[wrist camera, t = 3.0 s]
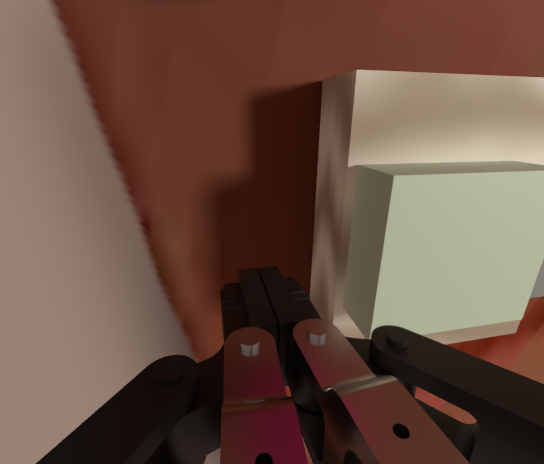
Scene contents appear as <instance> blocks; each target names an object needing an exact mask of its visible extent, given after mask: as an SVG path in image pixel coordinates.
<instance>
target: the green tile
mask: <svg viewBox="0 0 544 464" xmlns="http://www.w3.org/2000/svg"><path fill="white" fill-rule="evenodd" d="M543 259H544V165H540V164H533V163H525V162H518V161H480V162H440V163H401V164H361V165H357V175H356V184H355V194H354V203H353V213H352V222H351V232H350V241H349V251H348V260H347V270H346V279H345V289H344V298H343V308H344V310H345V311H346V312H347V314H348V315H349V316H350V318H351V319H352V320H353V322H354V323H355V325H356V326H357V327H358V329H359V330H360V331H361V333H362V334H363V335H364V337H365V338H366V339H371V334H372V332H373V330H374V329H375V328H377V327H380V326H384V325H393V326H398V327H402V328H405V329H407V330H410V331H412V332H415V333H417V334H420V335H424V334H430V333H437V332H443V331H450V330H456V329H463V328H469V327H476V326H482V325H489V324H495V323H502V322H508V321H515V320H521V319H522V318H523V315H524V312H525V309H526V307H527V304H528V301H529V298H530V295H531V293H532V290H533V287H534V284H535V281H536V279H537V276H538V273H539V270H540V267H541V265H542V262H543Z"/></svg>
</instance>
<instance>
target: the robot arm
mask: <svg viewBox="0 0 544 464" xmlns="http://www.w3.org/2000/svg"><path fill="white" fill-rule="evenodd" d="M237 276H238V283H230V284H225V285H224V287H223V288H222V290H221V291H220V296H221V312H222V328H223V338H224V344H223V346H222V348H221V349H220V350H219V351H218V353H216V354H215V355H214V356H212V357H210V358H209V359H206V360H204V361H202V362H199V363H196V362H195V361H194V360H193V359H192V358H190V357H187V356H183V355H171V356H166V357H163V358H160V359H158V360H156V361H154V362H153V363H151V364H150V365H149V366H147V367H146V368H145V369H144V370H143V371H142V372H141V373H139V374H138V375H137V376H136V377H135V378H134V379H132V380H131V381H130V382H129V383H128V384H127V385H126V386H124V387H123V388H122V389H121V390H120V391H119V392H118V393H116V394H115V395H114V396H113V397H112V398H111V399H109V401H107V402H106V403H105V404H104V405H103V406H102V407H100V408H99V409H98V410H97V411H96V412H95V413H94V414H92V415H91V416H90V417H89V418H88V419H87V420H85V422H83V423H82V424H81V425H80V426H79V427H77V429H75V430H74V431H73V432H72V433H71V434H69V435H68V436H67V437H66V438H65V439H64V440H62V441H61V442H60V443H59V444H58V445H57V446H56V447H55V448H54V449H52V450H51V451H50V452H49V453H48V454H46V455H45V456H44V457H43V458H42V459H41V460H40V461H38V462H37V463H36V464H204V461H205V458H206V455H208V454H209V453H211V452H213V451H215V450H216V449H218V448H220V447H221V456H220V464H308V461H307V457H306V453H305V448H304V444H303V441H304V443H305V446H306V448H307V451H308V453H309V456H310V458H311V461H312V463H313V464H544V384H542V383H539V382H537V381H534V380H532V379H529V378H527V377H524V376H522V375H519V374H517V373H514V372H512V371H509V370H507V369H504V368H502V367H499V366H497V365H494V364H492V363H490V362H487V361H485V360H482V359H480V358H477V357H475V356H472V355H470V354H467V353H465V352H462V351H460V350H457V349H455V348H452V347H450V346H447V345H445V344H442V343H440V342H437V341H435V340H432V339H430V338H427V337H425V336H422V335H420V334H417V333H415V332H412V331H410V330H407V329H405V328H402V327H398V326H393V325H384V326H380V327H377V328H375V329H374V330H373V332H372V334H371V339H361V338H351V337H346V336H344V335H343V334H342V333H341V331H340V330H339V329H338V328H337V327H336V326H335V325H334V324H332V323H330V322H328V321H325V320H322V319H321V317H320V315H319V314H318V312H317V310H316V309H315V307H314V306H313V304H312V302H311V301H310V299H309V297H308V296H307V294H306V293H305V291H304V289H303V287H302V286H301V284H300V283H299V282H297V281H296V280H294V279H293V278H291V277H288V278H282V276H281V274H280V272H279V270H278V268H277V266H273V267H262V268H258V269H257V268H252V269H241V270H238V272H237ZM287 385H288V386H289V389H290V392H291V397H287V395H286V390H285V386H287ZM417 386H418V387H420V388H422V389H424V390H426V391H428V392H430V393H432V394H434V395H436V396H437V397H439V398H441V399H443V400H445V401H447V402H449V403H451V404H453V405H455V406H457V407H459V408H461V409H463V410H465V411H467V412H469V413H470V414H471V415H472V416H474V418H475V419H476V420H477V422H476V423H474V424H465V423H462V422H460V421H458V420H456V419H454V418H452V417H450V416H448V415H446V414H444V413H443V412H441V411H439V410H437V409H435V408H433V407H431V406H429V405H427V404H425V403H424V402H422V401H420V400H418V399H416V398H414V397H415V392H416V388H417ZM302 438H303V440H302Z"/></svg>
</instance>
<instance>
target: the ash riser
mask: <svg viewBox="0 0 544 464" xmlns="http://www.w3.org/2000/svg"><path fill="white" fill-rule="evenodd" d="M480 161H518V162H525V163H533V164H540V165H544V78H540V77H516V76H493V75H469V74H446V73H422V72H399V71H375V70H354V71H351V72H348V73H345V74H341V75H338V76H335V77H332V78H328V79H325V80H323V84H322V101H321V118H320V134H319V151H318V168H317V185H316V202H315V218H314V235H313V252H312V269H311V285H310V301H311V302H312V304H313V306H314V307H315V309H316V310H317V312H318V314H319V315H320V317H321V319H322V320H325V321H328V322H330V323H332V324H334V325H335V326H336V327H337V328H338V329H339V330H340V331H341V333H342V334H343V335H344V336H346V337H351V338H361V339H366V338H365V337H364V335H363V334H362V333H361V331H360V330H359V329H358V327H357V326H356V325H355V323H354V322H353V320H352V319H351V318H350V316H349V315H348V314H347V312H346V311H345V310H344V308H343V298H344V289H345V279H346V270H347V260H348V251H349V241H350V232H351V222H352V213H353V203H354V194H355V184H356V175H357V165H361V164H401V163H440V162H480ZM519 322H520V320H515V321H508V322H502V323H495V324H489V325H482V326H476V327H469V328H463V329H456V330H450V331H443V332H437V333H430V334H424V335H422V336H425V337H427V338H430V339H432V340H435V341H437V342H440V343H442V344H450V343H456V342H462V341H469V340H475V339H481V338H487V337H493V336H499V335H505V334H511V333H516V331H517V328H518V325H519Z"/></svg>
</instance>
